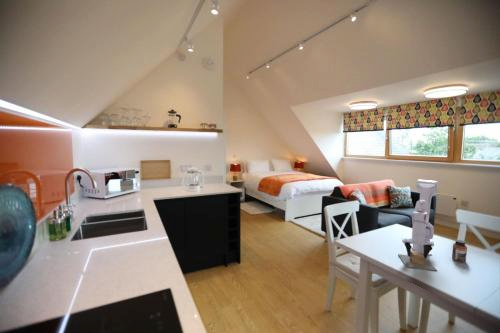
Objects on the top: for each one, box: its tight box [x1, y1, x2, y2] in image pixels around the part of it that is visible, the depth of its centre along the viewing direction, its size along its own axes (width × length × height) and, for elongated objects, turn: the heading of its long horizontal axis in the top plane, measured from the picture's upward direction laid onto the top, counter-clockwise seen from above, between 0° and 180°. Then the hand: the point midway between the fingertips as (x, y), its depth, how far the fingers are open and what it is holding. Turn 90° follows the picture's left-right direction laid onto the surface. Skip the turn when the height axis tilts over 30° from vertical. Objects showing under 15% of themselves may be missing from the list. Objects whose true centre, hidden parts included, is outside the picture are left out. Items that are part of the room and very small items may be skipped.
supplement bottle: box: [451, 239, 468, 263], centre depth 132 cm, size 6×6×11 cm
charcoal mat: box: [397, 253, 438, 272], centre depth 130 cm, size 14×14×1 cm
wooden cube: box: [410, 250, 424, 265], centre depth 130 cm, size 5×5×5 cm
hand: (416, 256), depth 130 cm, fingers open, 7 cm apart
